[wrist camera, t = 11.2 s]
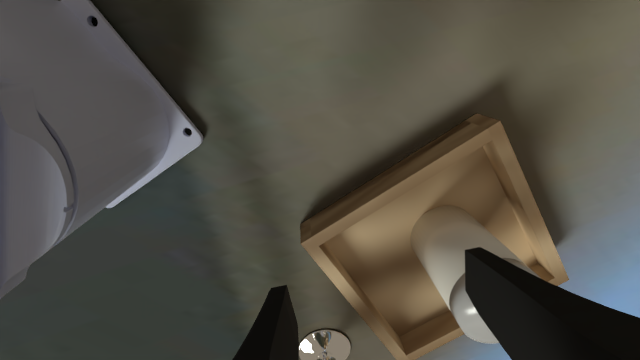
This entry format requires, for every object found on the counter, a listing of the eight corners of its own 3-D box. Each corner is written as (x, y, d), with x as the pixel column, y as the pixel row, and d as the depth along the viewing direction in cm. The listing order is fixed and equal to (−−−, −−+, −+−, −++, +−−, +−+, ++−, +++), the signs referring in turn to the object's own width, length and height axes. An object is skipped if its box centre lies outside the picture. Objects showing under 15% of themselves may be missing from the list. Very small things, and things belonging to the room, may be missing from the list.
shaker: (410, 209, 21) (461, 276, 15) (477, 201, 21) (557, 264, 15) (410, 265, 23) (455, 348, 16) (471, 258, 23) (541, 337, 16)
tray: (300, 224, 22) (300, 243, 19) (476, 113, 20) (500, 120, 17) (392, 339, 26) (401, 366, 24) (543, 258, 24) (569, 279, 22)
